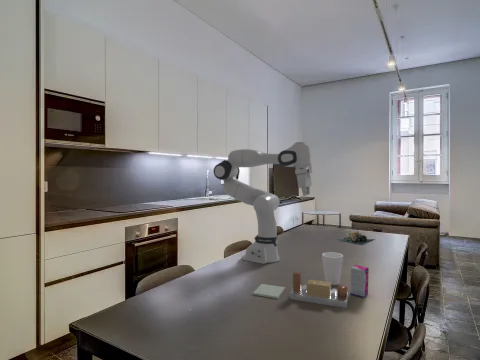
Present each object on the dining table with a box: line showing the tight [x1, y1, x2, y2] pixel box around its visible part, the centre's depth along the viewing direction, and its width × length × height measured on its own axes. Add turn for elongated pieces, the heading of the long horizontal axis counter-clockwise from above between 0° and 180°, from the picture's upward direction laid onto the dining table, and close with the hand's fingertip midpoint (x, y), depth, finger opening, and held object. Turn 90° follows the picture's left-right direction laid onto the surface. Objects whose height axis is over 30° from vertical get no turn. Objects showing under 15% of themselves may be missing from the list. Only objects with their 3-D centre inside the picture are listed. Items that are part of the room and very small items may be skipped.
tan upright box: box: [306, 278, 332, 297], centre depth 122 cm, size 9×5×4 cm, turn 66°
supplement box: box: [349, 264, 370, 298], centre depth 126 cm, size 6×6×12 cm
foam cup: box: [321, 251, 344, 286], centre depth 140 cm, size 10×9×13 cm
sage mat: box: [252, 283, 286, 300], centre depth 129 cm, size 11×11×1 cm
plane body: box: [289, 271, 349, 309], centre depth 122 cm, size 22×10×10 cm, turn 66°
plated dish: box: [336, 228, 376, 246], centre depth 228 cm, size 35×28×7 cm
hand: (306, 195), depth 168 cm, fingers open, 8 cm apart
